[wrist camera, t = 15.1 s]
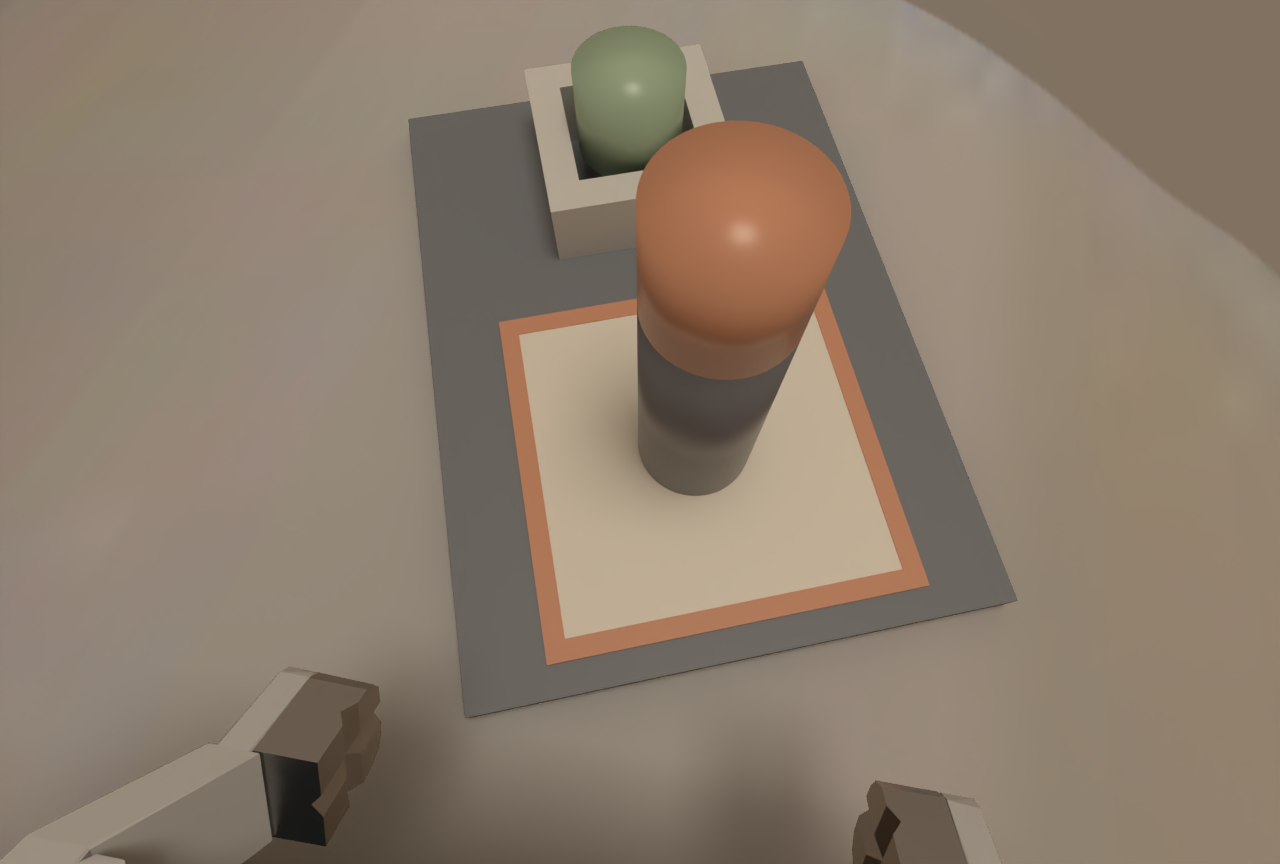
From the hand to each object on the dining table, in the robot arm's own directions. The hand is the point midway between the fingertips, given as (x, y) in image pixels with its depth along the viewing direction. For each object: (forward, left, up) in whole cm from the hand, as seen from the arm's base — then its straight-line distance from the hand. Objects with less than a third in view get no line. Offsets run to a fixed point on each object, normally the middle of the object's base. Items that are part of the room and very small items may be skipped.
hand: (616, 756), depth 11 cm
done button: (+19, -4, -6) cm, 20 cm away
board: (+12, -4, -9) cm, 15 cm away
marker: (+8, -4, -8) cm, 12 cm away
